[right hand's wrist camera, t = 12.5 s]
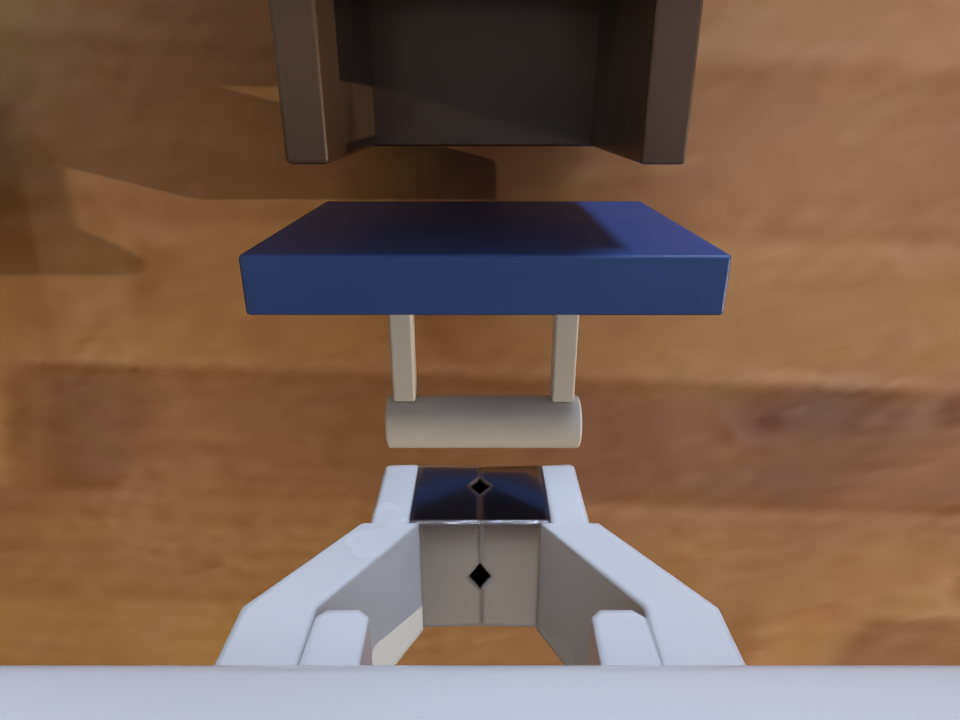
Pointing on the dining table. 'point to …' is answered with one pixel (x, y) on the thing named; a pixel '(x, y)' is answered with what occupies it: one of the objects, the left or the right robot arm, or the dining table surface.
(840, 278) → the dining table surface
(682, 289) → the drawer
